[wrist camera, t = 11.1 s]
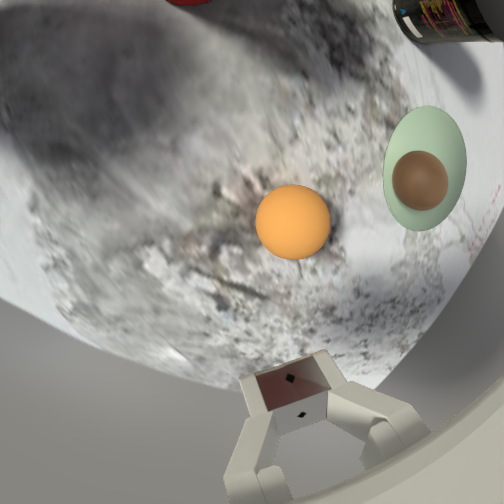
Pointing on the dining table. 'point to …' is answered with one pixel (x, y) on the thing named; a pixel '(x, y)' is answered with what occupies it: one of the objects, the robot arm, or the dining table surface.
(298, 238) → the orange ball
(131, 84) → the dining table surface
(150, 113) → the dining table surface
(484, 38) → the supplement container
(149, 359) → the dining table surface
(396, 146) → the sage mark
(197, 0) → the plastic cup
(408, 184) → the walnut ball
